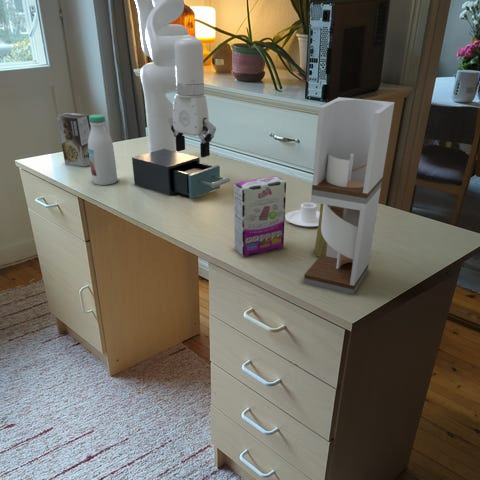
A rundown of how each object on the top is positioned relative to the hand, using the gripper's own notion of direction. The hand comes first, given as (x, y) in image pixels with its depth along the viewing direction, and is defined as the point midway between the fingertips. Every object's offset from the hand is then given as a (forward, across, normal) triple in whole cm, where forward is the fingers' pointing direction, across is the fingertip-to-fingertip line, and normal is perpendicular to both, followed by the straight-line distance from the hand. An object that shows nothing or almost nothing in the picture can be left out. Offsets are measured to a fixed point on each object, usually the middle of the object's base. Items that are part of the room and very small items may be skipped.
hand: (192, 153), depth 151 cm
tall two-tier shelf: (+12, +61, -20) cm, 65 cm away
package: (+10, 0, 0) cm, 10 cm away
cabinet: (+12, -12, 0) cm, 16 cm away
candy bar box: (+12, +39, -20) cm, 46 cm away
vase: (+12, +53, -12) cm, 56 cm away
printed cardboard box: (+12, -52, -3) cm, 53 cm away
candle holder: (+12, +38, +3) cm, 40 cm away
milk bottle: (+12, -29, -11) cm, 33 cm away
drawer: (+11, +1, 0) cm, 11 cm away
